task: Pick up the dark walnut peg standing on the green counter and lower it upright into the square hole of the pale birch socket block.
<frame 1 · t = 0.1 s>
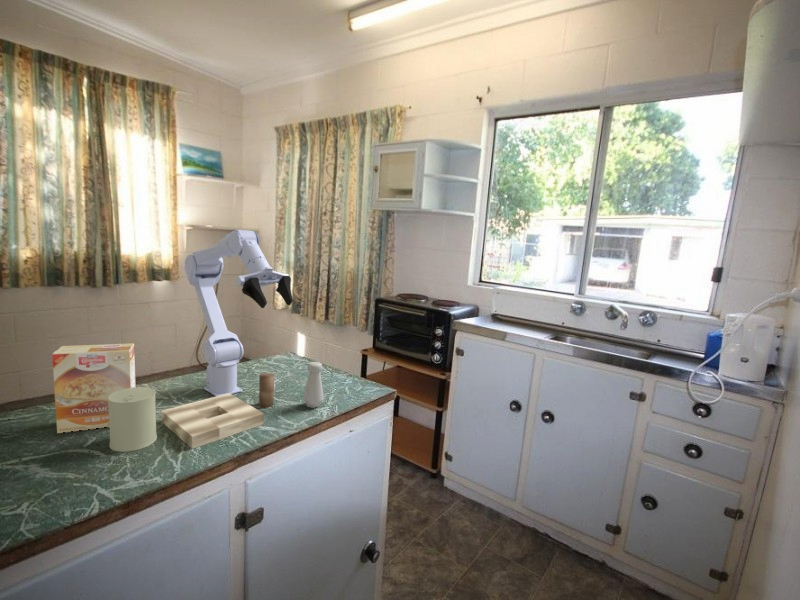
hand: (277, 304, 102), 32 cm above the counter, tool tilted 50°, fingers open, 7 cm apart
coffeecake box: (99, 423, 100), on the counter
peg: (266, 404, 117), on the counter
socket block: (213, 423, 104), on the counter
can: (133, 442, 93), on the counter
salt shaker: (313, 405, 119), on the counter
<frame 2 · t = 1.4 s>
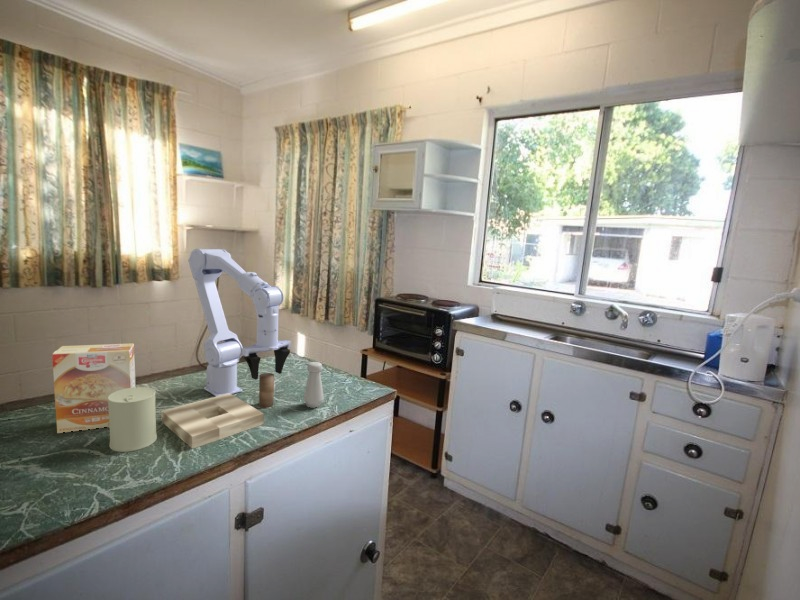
hand: (266, 375, 116), 9 cm above the counter, tool pointing down, fingers open, 7 cm apart
nothing on the counter moved.
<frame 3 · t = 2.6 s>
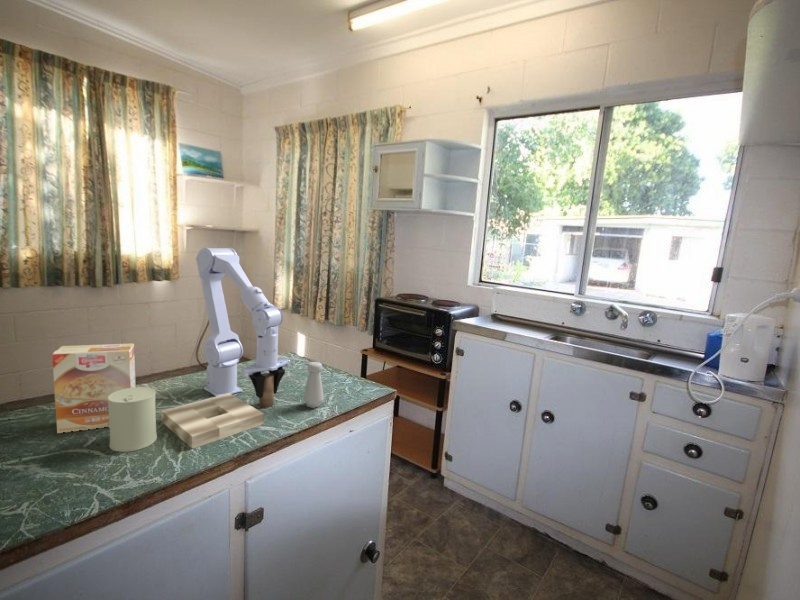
hand: (266, 394, 117), 3 cm above the counter, tool pointing down, fingers closed on peg, 4 cm apart
peg: (266, 404, 117), on the counter, touching gripper
everything else where it was.
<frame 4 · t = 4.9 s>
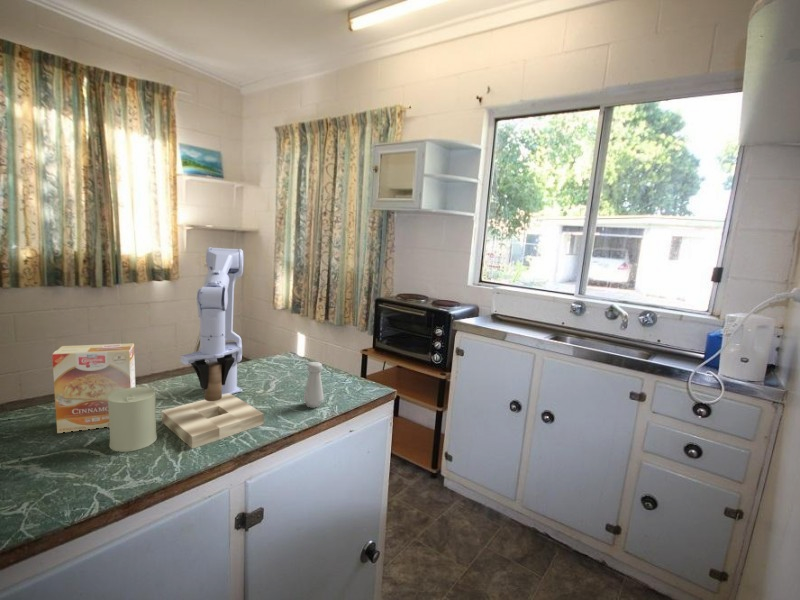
hand: (213, 386, 103), 10 cm above the counter, tool pointing down, fingers closed on peg, 4 cm apart
peg: (213, 398, 103), point 7 cm above the counter, touching gripper
everything else where it was.
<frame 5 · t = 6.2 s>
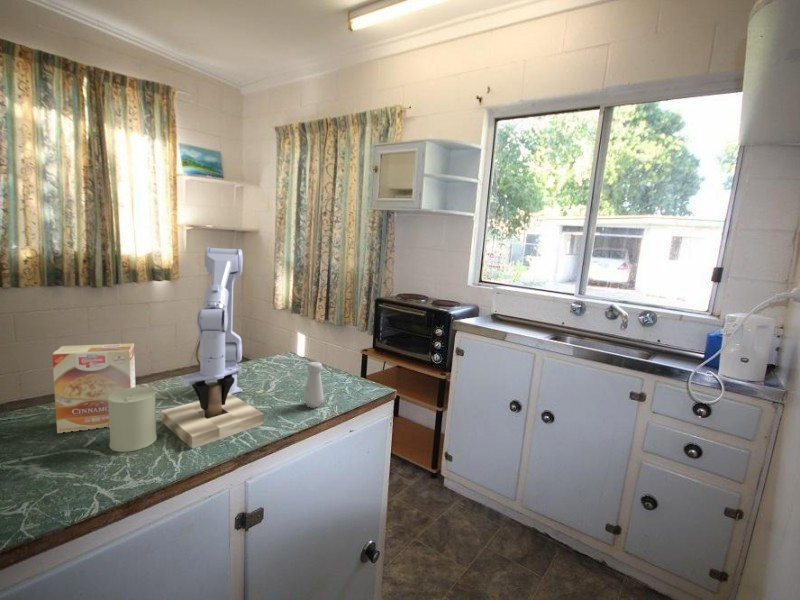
hand: (213, 406, 103), 5 cm above the counter, tool pointing down, fingers closed on peg, 4 cm apart
peg: (213, 418, 104), point 1 cm above the counter, touching gripper
everything else where it was.
when the fingers open (5 cm above the counter, at t = 7.3 s): peg drops 1 cm, resting in socket block.
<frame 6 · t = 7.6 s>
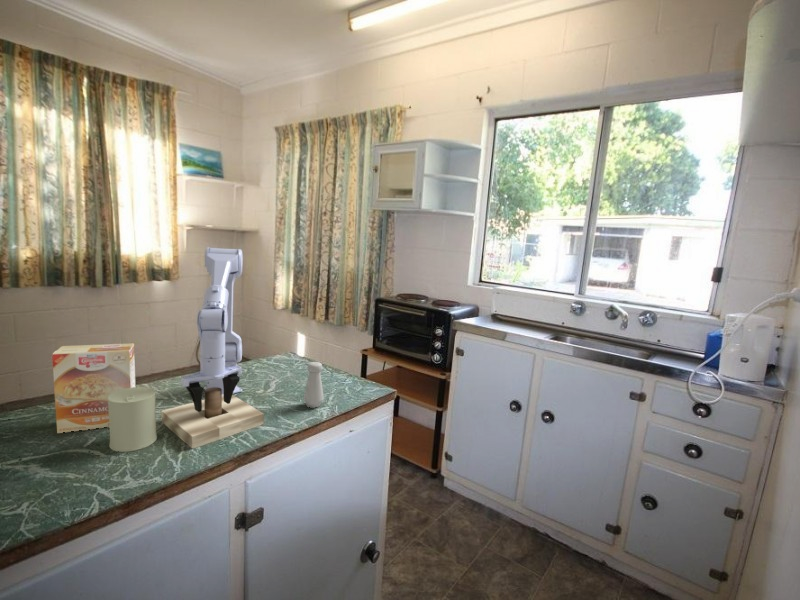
hand: (213, 406, 103), 5 cm above the counter, tool pointing down, fingers open, 7 cm apart
peg: (213, 423, 104), resting in socket block
everything else where it was.
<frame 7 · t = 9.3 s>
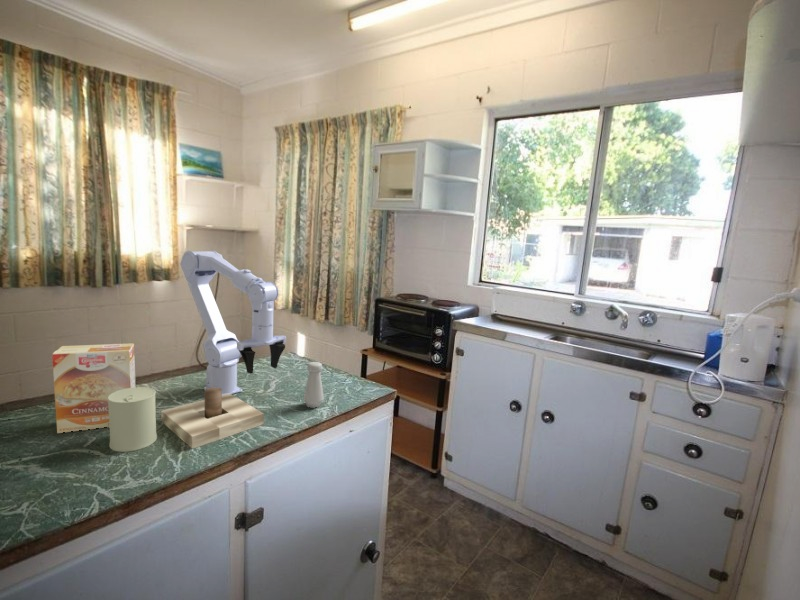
hand: (262, 369, 117), 10 cm above the counter, tool pointing down, fingers open, 7 cm apart
nothing on the counter moved.
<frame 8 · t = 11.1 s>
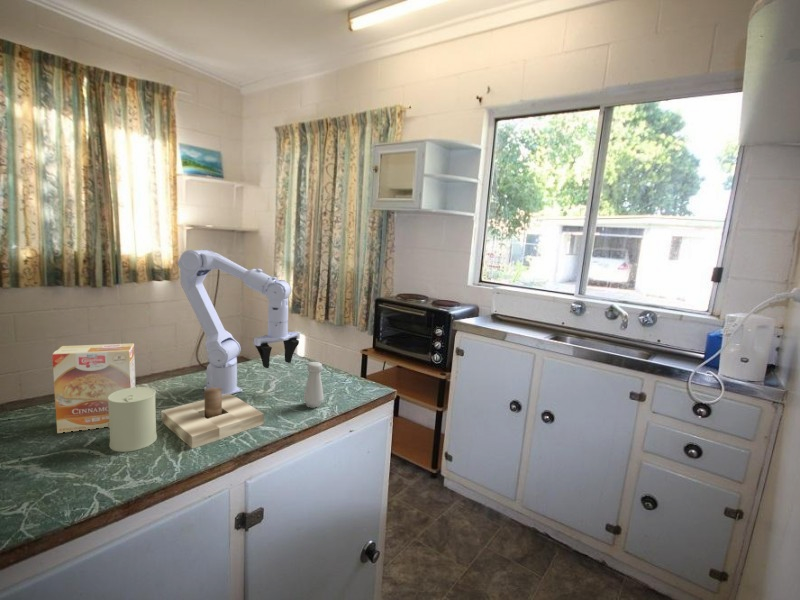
hand: (277, 364, 123), 10 cm above the counter, tool pointing down, fingers open, 7 cm apart
nothing on the counter moved.
at the end: peg 0.1 cm off-centre on the socket block, point 0.0 cm above the socket block's base; peg tilted 0°; the gripper is holding nothing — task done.
